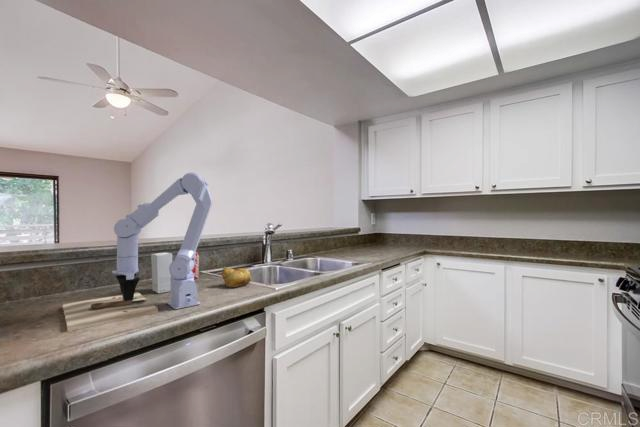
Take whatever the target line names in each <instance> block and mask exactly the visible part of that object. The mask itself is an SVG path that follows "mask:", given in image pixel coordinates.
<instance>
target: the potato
mask: <svg viewBox="0 0 640 427" xmlns="http://www.w3.org/2000/svg"><path fill="white" fill-rule="evenodd" d="M221 278H222V279H223V281H224V284H225V286H226V287H228V288H238V287H242V286H243V287H244V286H246V285H248V284H249V283H250V282H251V281H252V276H251V272H250V271H249V270H248V269H247V268H244V267H243V268H242V267H241V268H236V269H234V268H231V267H227V266H226V267H223V269H222V270H221Z"/></svg>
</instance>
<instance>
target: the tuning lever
mask: <svg viewBox="0 0 640 427" xmlns="http://www.w3.org/2000/svg"><path fill="white" fill-rule="evenodd" d="M133 300H134V297H133ZM133 300H129V301H125V300H124V297H123V301H114V302H105V303H94V304H91V309H99V308H104V307H112V306H120V305H129V304H133V303H141V302H145V300H137V301H133Z"/></svg>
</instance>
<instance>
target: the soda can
mask: <svg viewBox="0 0 640 427" xmlns="http://www.w3.org/2000/svg"><path fill="white" fill-rule="evenodd" d="M198 253H199V251H196V255H195V258H194V262H195V266H194V269H193V270H192V272H193V274H194V281H195V283H196V282H197V281H198V280H199V279H200V278H199V277H200V276H199V275H200V274H199V273H200V271H199V270H200V255H199V254H198Z"/></svg>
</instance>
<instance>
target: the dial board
mask: <svg viewBox="0 0 640 427" xmlns="http://www.w3.org/2000/svg"><path fill="white" fill-rule="evenodd" d="M137 300H145V302H141V303H133V304H129V305H120V306H112V307H104V308H99V309H91V304H94V303H105V302H114V301H123V297H122V294H118V295H117V294H116V295H110V296H106V297H104V296H103V297H99V298H93V299H92V298H91V299H88V300H81V301H75V302H69V303H62V312H63V311H64V312H63V316H65V317H64V321H65V326H66V330H67V332H72V331H77V330H80V329H81V330H82V329H85V328H90V327H96V326H101V325H105V324H109V323H114V322H119V321H123V320H129V319H133V318H137V317H142V316H147V315H152V314H156V313H159V308H158V306H156V305H155V304H154V303H152V301H149V300H148V299H147V298H146V297H145V296H143V295H142V294H141V293H140V292H137V291H135V292H134V300H133V301H137Z"/></svg>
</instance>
